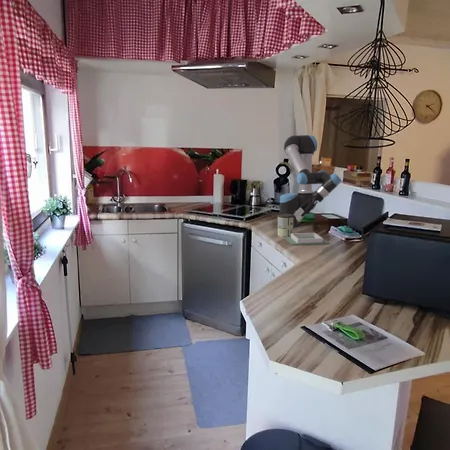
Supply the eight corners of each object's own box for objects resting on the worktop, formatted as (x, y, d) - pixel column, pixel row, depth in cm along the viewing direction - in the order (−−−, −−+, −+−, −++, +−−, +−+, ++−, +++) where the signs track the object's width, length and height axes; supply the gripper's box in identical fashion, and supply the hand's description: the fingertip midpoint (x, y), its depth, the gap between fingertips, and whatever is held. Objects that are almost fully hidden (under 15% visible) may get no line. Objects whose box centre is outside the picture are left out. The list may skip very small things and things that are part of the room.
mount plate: (285, 238, 257) (285, 233, 257) (318, 237, 260) (319, 232, 259) (292, 245, 241) (292, 239, 240) (328, 244, 243) (328, 238, 243)
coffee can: (279, 233, 272) (279, 213, 269) (294, 234, 269) (294, 213, 266) (275, 237, 262) (276, 215, 260) (291, 238, 259) (292, 216, 256)
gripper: (328, 201, 245) (302, 225, 249) (320, 195, 270) (297, 218, 274) (319, 192, 245) (294, 217, 248) (312, 187, 269) (290, 210, 273)
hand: (296, 217), depth 261 cm, fingers open, 13 cm apart
